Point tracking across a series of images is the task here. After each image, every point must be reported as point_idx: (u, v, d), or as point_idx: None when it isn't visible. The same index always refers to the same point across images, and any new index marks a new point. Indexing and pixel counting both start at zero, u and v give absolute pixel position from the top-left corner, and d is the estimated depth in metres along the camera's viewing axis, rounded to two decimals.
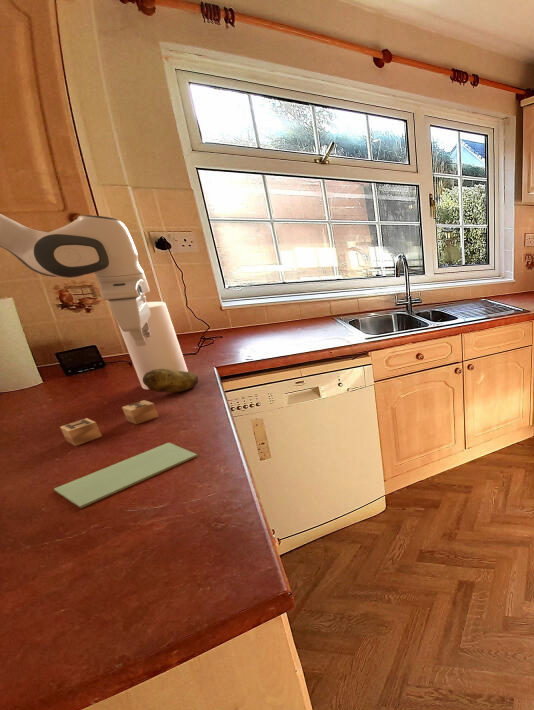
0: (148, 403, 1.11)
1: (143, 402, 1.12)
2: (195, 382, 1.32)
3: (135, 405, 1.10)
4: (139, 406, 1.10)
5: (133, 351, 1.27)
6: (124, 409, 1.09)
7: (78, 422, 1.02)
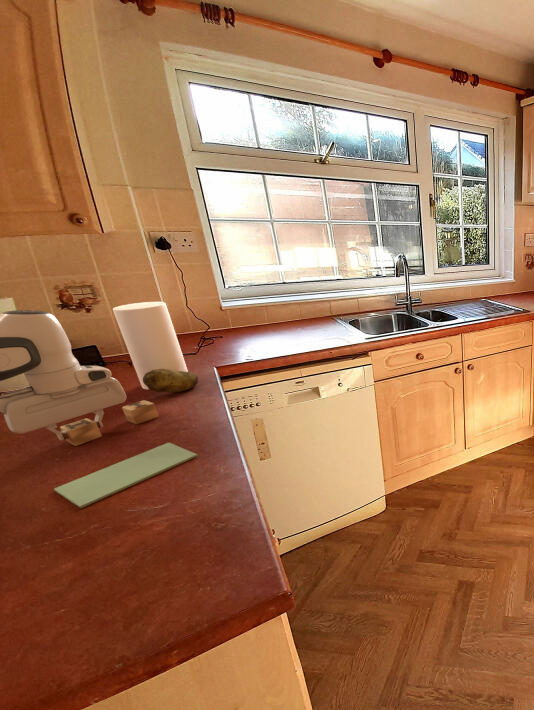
0: (148, 403, 1.11)
1: (143, 402, 1.12)
2: (195, 382, 1.32)
3: (135, 405, 1.10)
4: (139, 406, 1.10)
5: (133, 351, 1.27)
6: (124, 409, 1.09)
7: (78, 422, 1.02)
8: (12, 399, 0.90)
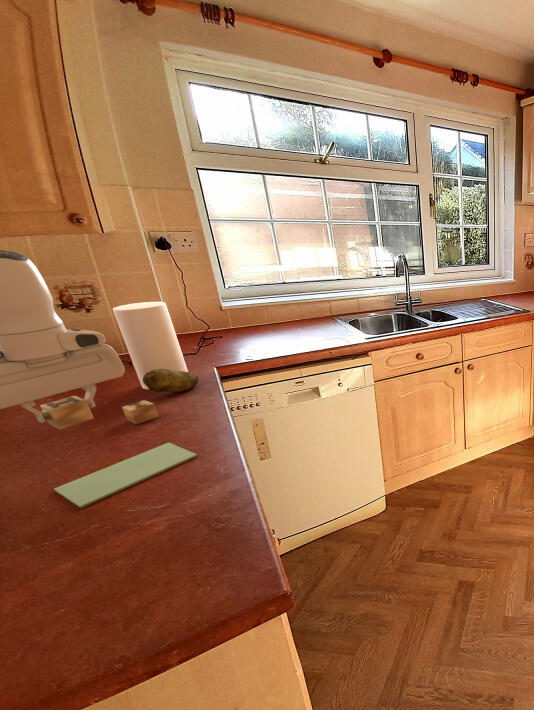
0: (148, 403, 1.11)
1: (143, 402, 1.12)
2: (195, 382, 1.32)
3: (135, 405, 1.10)
4: (139, 406, 1.10)
5: (133, 351, 1.27)
6: (124, 409, 1.09)
7: (63, 400, 0.81)
8: None
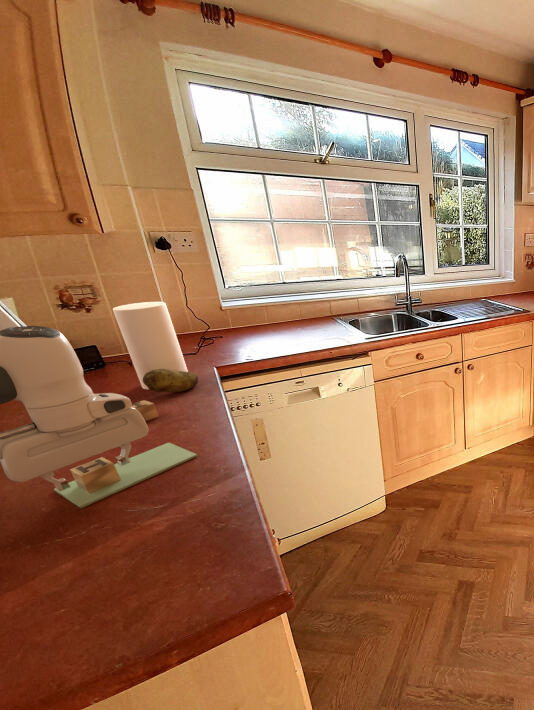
0: (148, 403, 1.11)
1: (143, 402, 1.12)
2: (195, 382, 1.32)
3: (135, 405, 1.10)
4: (139, 406, 1.10)
5: (133, 351, 1.27)
6: None
7: (92, 463, 0.83)
8: (10, 440, 0.72)
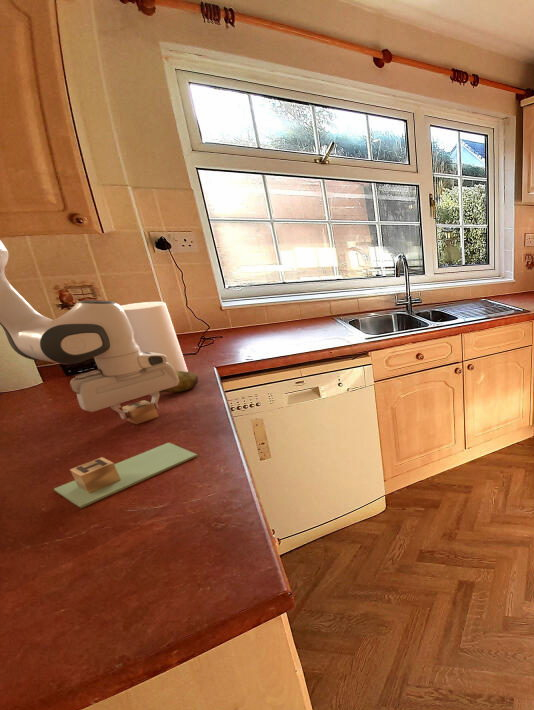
0: (148, 403, 1.11)
1: (143, 403, 1.12)
2: (195, 382, 1.32)
3: (135, 405, 1.10)
4: (139, 406, 1.10)
5: None
6: (124, 409, 1.09)
7: (92, 463, 0.83)
8: (84, 380, 1.00)
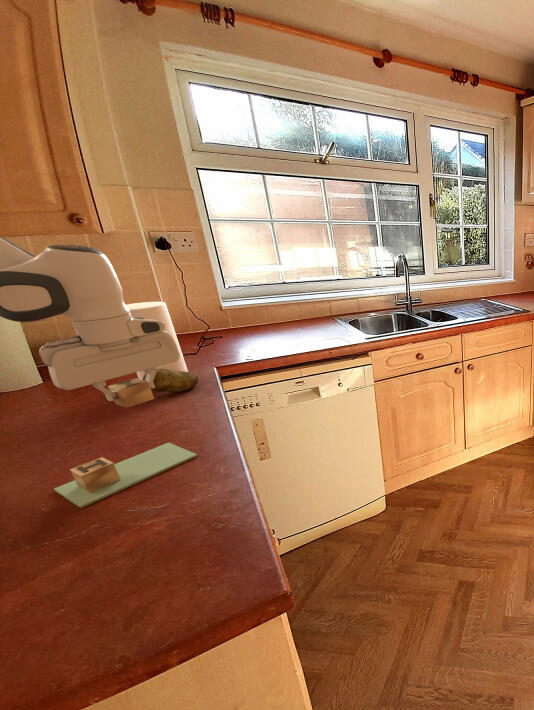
0: (141, 381, 0.89)
1: (135, 381, 0.89)
2: (195, 382, 1.32)
3: (125, 384, 0.88)
4: (130, 385, 0.87)
5: None
6: (111, 389, 0.87)
7: (92, 463, 0.83)
8: (58, 349, 0.78)
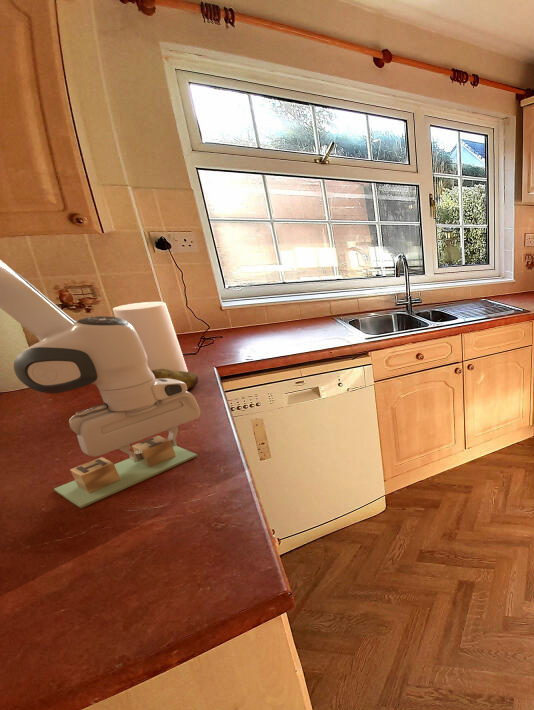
0: (164, 440, 0.92)
1: (157, 439, 0.92)
2: (195, 382, 1.32)
3: (148, 443, 0.90)
4: (153, 444, 0.90)
5: None
6: (135, 449, 0.89)
7: (92, 463, 0.83)
8: (87, 418, 0.80)
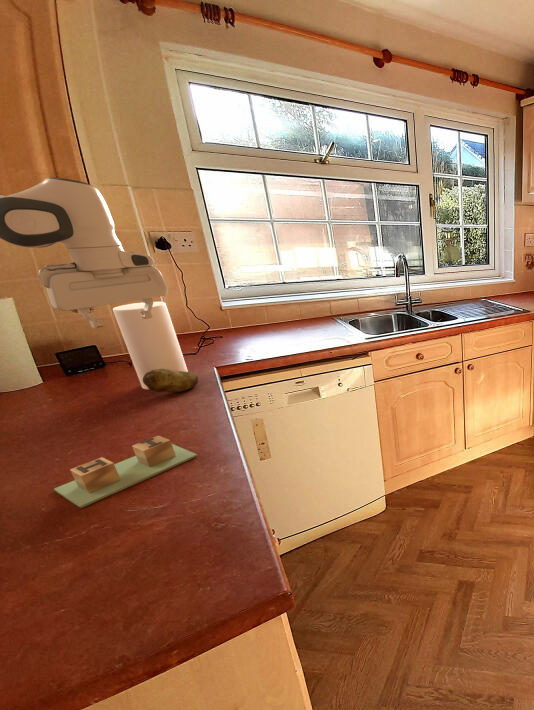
0: (164, 440, 0.92)
1: (157, 439, 0.92)
2: (195, 382, 1.32)
3: (148, 443, 0.90)
4: (153, 444, 0.90)
5: (133, 351, 1.27)
6: (135, 449, 0.89)
7: (92, 463, 0.83)
8: (55, 272, 0.86)
